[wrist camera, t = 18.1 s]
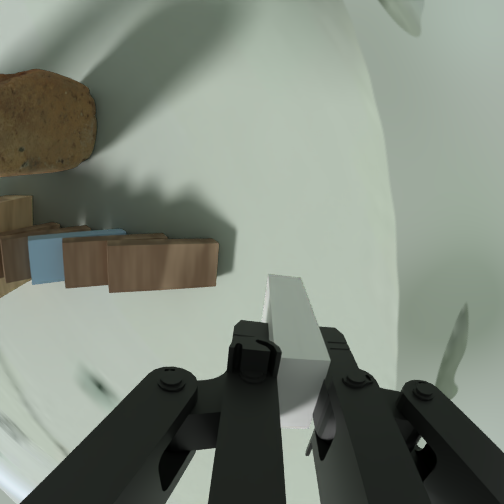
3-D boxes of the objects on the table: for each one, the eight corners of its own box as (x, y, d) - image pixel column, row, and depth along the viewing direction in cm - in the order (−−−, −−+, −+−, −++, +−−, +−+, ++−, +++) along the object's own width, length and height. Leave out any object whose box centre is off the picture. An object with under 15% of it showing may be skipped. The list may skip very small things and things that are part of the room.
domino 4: (161, 273, 37) (65, 281, 31) (162, 233, 36) (62, 237, 29) (166, 279, 35) (65, 288, 29) (168, 237, 34) (62, 242, 28)
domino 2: (86, 262, 37) (4, 277, 28) (85, 225, 36) (-1, 236, 27) (92, 266, 36) (6, 283, 27) (91, 228, 35) (1, 240, 25)
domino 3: (121, 267, 37) (31, 278, 29) (121, 228, 36) (27, 236, 28) (126, 272, 36) (32, 284, 28) (126, 232, 34) (27, 240, 27)
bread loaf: (93, 172, 34) (-30, 187, 15) (50, 167, 34) (-68, 181, 15) (108, 88, 31) (-4, 44, 12) (63, 89, 31) (-48, 61, 12)
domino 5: (209, 279, 37) (108, 284, 32) (212, 238, 36) (106, 240, 30) (215, 286, 35) (109, 292, 30) (219, 243, 34) (107, 245, 28)
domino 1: (54, 257, 37) (-18, 277, 27) (52, 221, 36) (-23, 237, 25) (61, 260, 36) (-13, 282, 26) (60, 224, 35) (-19, 240, 24)
